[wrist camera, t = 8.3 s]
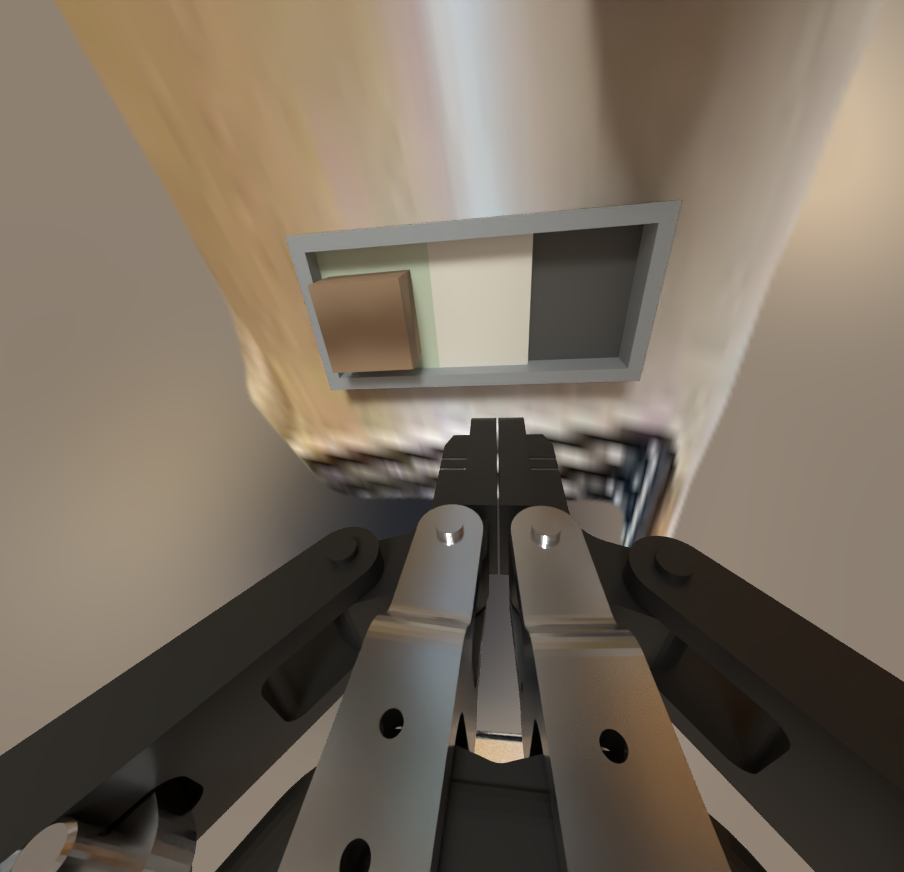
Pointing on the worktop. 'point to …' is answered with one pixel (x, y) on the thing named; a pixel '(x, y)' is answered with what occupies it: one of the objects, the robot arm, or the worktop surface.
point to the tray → (511, 293)
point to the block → (368, 321)
